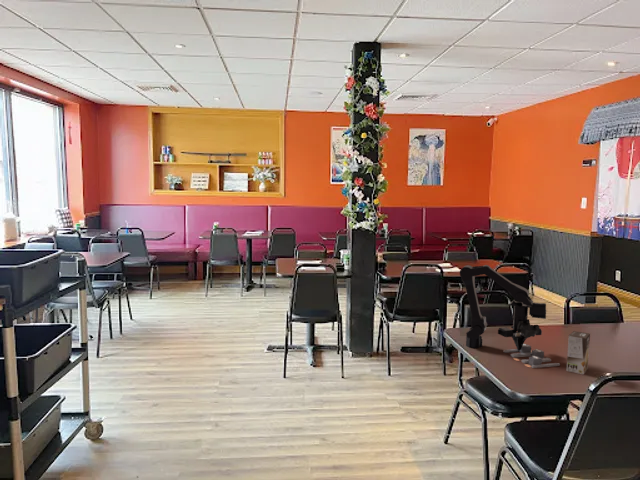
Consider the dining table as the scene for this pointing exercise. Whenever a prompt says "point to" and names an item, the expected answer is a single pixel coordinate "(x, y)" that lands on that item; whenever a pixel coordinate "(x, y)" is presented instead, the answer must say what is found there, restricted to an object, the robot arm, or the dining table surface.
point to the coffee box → (578, 352)
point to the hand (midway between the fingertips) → (518, 350)
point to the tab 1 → (525, 349)
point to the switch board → (528, 359)
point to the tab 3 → (535, 360)
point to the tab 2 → (538, 353)
